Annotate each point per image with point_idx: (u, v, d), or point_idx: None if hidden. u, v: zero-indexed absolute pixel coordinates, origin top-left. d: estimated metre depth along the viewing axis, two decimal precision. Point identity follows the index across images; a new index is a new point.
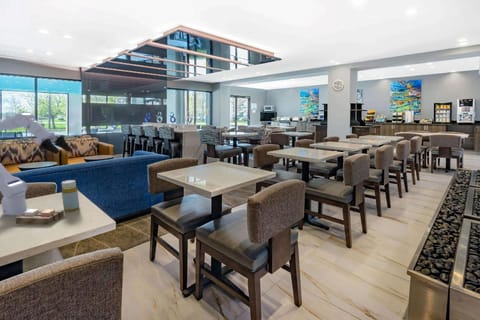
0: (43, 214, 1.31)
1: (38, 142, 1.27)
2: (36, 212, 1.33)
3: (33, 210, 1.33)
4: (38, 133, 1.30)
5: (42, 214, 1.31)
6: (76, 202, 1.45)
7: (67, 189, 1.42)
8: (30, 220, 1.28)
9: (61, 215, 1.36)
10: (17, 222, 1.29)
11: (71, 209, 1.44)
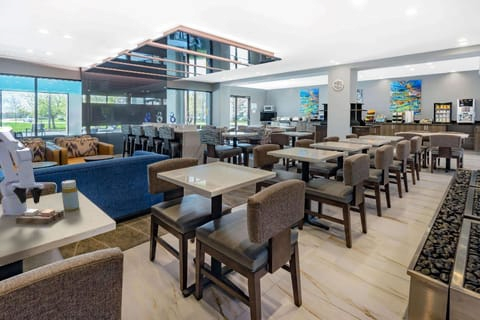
0: (43, 214, 1.31)
1: None
2: (36, 212, 1.33)
3: (33, 210, 1.33)
4: None
5: (42, 214, 1.31)
6: (76, 202, 1.45)
7: (67, 189, 1.42)
8: (30, 220, 1.28)
9: (61, 215, 1.36)
10: (17, 222, 1.29)
11: (71, 209, 1.44)
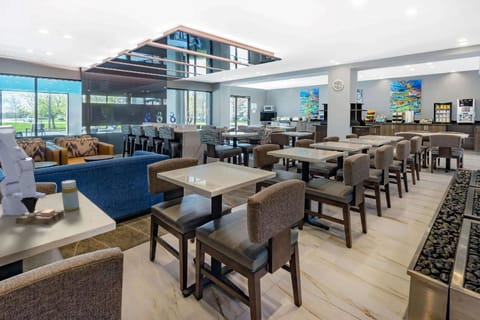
0: (43, 214, 1.31)
1: None
2: (36, 213, 1.33)
3: None
4: None
5: (42, 214, 1.31)
6: (76, 202, 1.45)
7: (67, 189, 1.42)
8: (30, 220, 1.28)
9: (61, 215, 1.36)
10: (17, 222, 1.29)
11: (71, 209, 1.44)
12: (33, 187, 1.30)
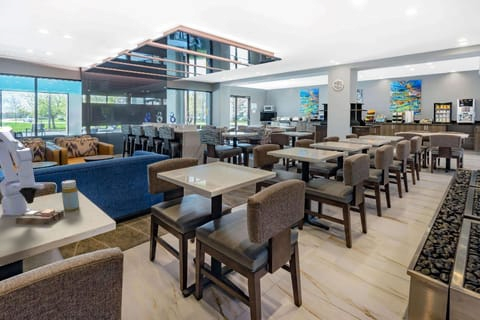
0: (43, 214, 1.31)
1: None
2: (36, 213, 1.33)
3: (33, 211, 1.33)
4: None
5: (42, 214, 1.31)
6: (76, 202, 1.45)
7: (67, 189, 1.42)
8: (30, 220, 1.28)
9: (61, 215, 1.36)
10: (17, 222, 1.29)
11: (71, 209, 1.44)
12: (32, 177, 1.29)
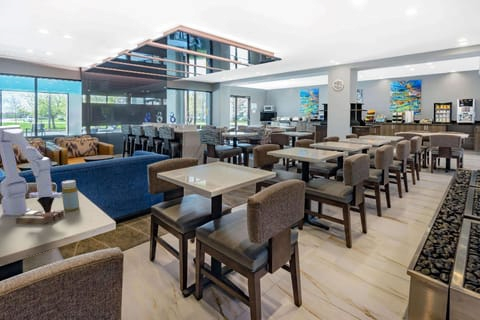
0: (43, 215, 1.31)
1: None
2: (36, 213, 1.33)
3: (33, 211, 1.33)
4: None
5: (42, 215, 1.31)
6: (76, 202, 1.45)
7: (67, 189, 1.42)
8: (30, 220, 1.28)
9: (61, 215, 1.36)
10: (17, 222, 1.29)
11: (71, 209, 1.44)
12: (50, 187, 1.30)
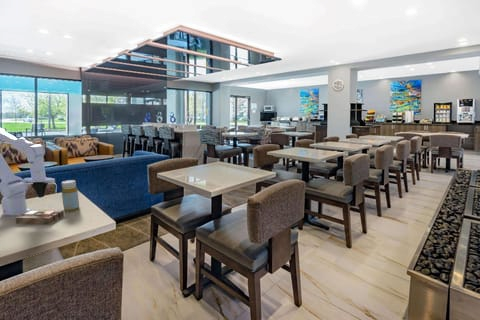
0: (43, 215, 1.31)
1: None
2: (36, 213, 1.33)
3: (33, 211, 1.33)
4: None
5: (42, 215, 1.31)
6: (76, 202, 1.45)
7: (67, 189, 1.42)
8: (30, 220, 1.28)
9: (61, 215, 1.36)
10: (17, 222, 1.29)
11: (71, 209, 1.44)
12: (43, 172, 1.35)
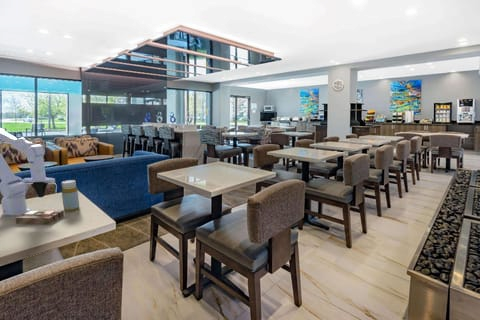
0: (43, 215, 1.31)
1: None
2: (36, 213, 1.33)
3: (33, 211, 1.33)
4: None
5: (42, 215, 1.31)
6: (76, 202, 1.45)
7: (67, 189, 1.42)
8: (30, 220, 1.28)
9: (61, 215, 1.36)
10: (17, 222, 1.29)
11: (71, 209, 1.44)
12: (43, 172, 1.35)
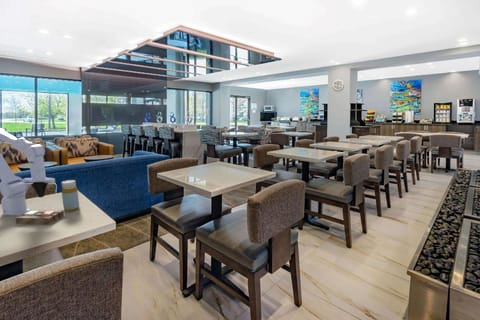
0: (43, 215, 1.31)
1: None
2: (36, 213, 1.33)
3: (33, 211, 1.33)
4: None
5: (42, 215, 1.31)
6: (76, 202, 1.45)
7: (67, 189, 1.42)
8: (30, 220, 1.28)
9: (61, 215, 1.36)
10: (17, 222, 1.29)
11: (71, 209, 1.44)
12: (43, 172, 1.35)
